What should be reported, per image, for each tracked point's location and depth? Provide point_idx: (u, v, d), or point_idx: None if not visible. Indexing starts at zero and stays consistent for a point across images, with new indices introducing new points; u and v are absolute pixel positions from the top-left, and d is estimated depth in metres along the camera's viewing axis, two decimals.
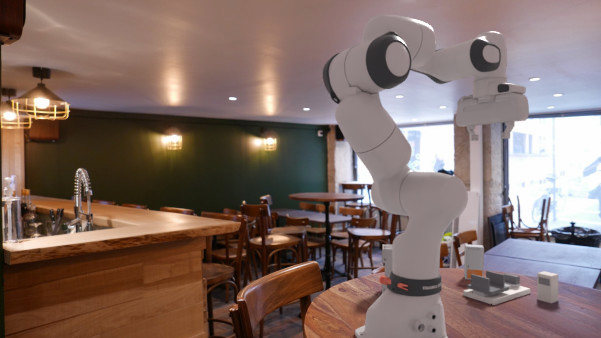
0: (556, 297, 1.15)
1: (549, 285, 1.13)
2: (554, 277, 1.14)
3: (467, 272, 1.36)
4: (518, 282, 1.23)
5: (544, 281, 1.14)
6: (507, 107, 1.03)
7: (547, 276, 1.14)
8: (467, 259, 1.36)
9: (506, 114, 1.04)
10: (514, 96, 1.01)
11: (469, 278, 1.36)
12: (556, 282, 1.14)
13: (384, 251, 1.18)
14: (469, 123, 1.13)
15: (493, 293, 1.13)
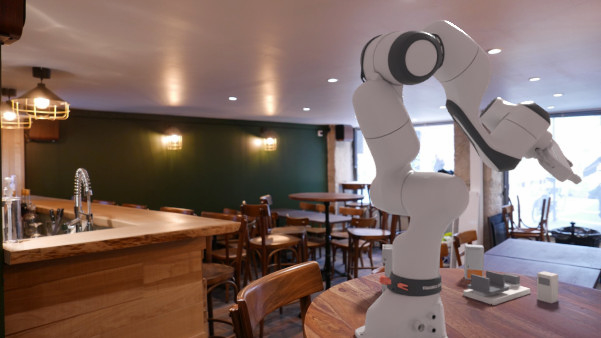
0: (556, 297, 1.15)
1: (549, 285, 1.13)
2: (554, 277, 1.14)
3: (467, 272, 1.36)
4: (518, 282, 1.23)
5: (544, 281, 1.14)
6: None
7: (547, 276, 1.14)
8: (467, 259, 1.36)
9: (556, 146, 1.08)
10: None
11: (469, 278, 1.36)
12: (556, 282, 1.14)
13: (384, 251, 1.18)
14: (569, 165, 0.99)
15: (493, 293, 1.13)
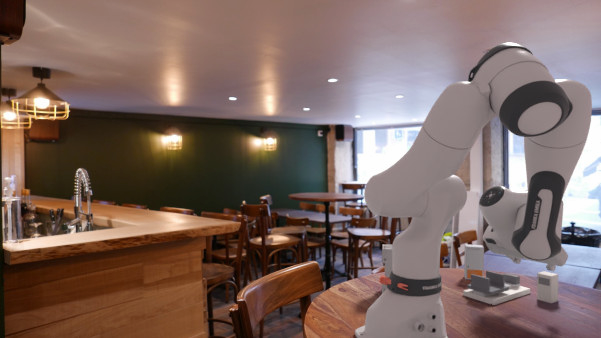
0: (556, 297, 1.15)
1: (549, 285, 1.13)
2: (554, 277, 1.14)
3: (467, 272, 1.36)
4: (518, 282, 1.23)
5: (544, 281, 1.14)
6: None
7: (547, 276, 1.14)
8: (467, 259, 1.36)
9: None
10: None
11: (469, 278, 1.36)
12: (556, 282, 1.14)
13: (384, 251, 1.18)
14: None
15: (493, 293, 1.13)
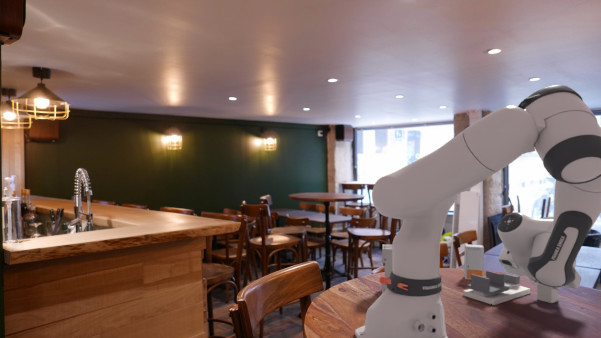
0: (556, 297, 1.15)
1: None
2: None
3: (467, 272, 1.36)
4: (518, 282, 1.23)
5: None
6: None
7: None
8: (467, 259, 1.36)
9: None
10: None
11: (469, 278, 1.36)
12: None
13: (384, 251, 1.18)
14: None
15: (493, 293, 1.13)
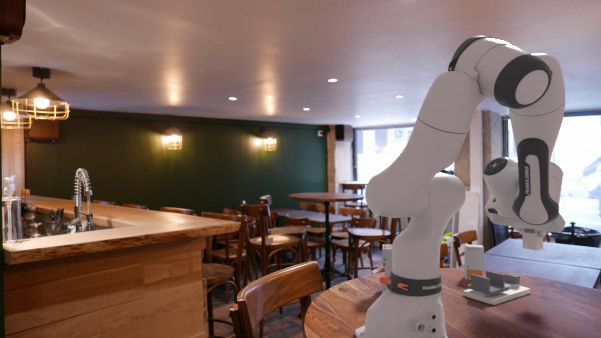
0: (541, 245, 1.16)
1: (534, 232, 1.14)
2: None
3: (467, 272, 1.36)
4: (518, 282, 1.23)
5: (529, 229, 1.15)
6: None
7: None
8: (467, 259, 1.36)
9: None
10: None
11: (469, 278, 1.36)
12: None
13: (384, 251, 1.18)
14: None
15: (493, 293, 1.13)
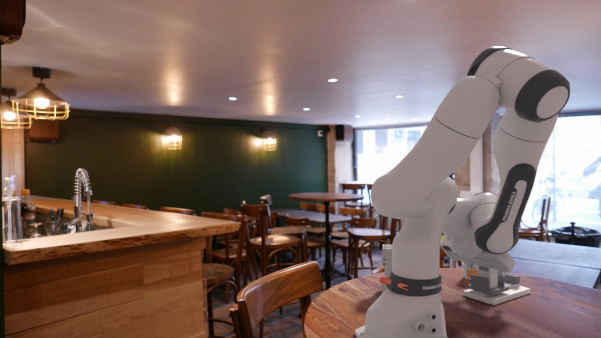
0: (496, 283, 1.17)
1: (488, 271, 1.16)
2: None
3: (467, 272, 1.36)
4: (518, 282, 1.23)
5: (484, 267, 1.17)
6: None
7: None
8: None
9: None
10: None
11: (469, 278, 1.36)
12: None
13: (384, 251, 1.18)
14: None
15: (493, 293, 1.13)
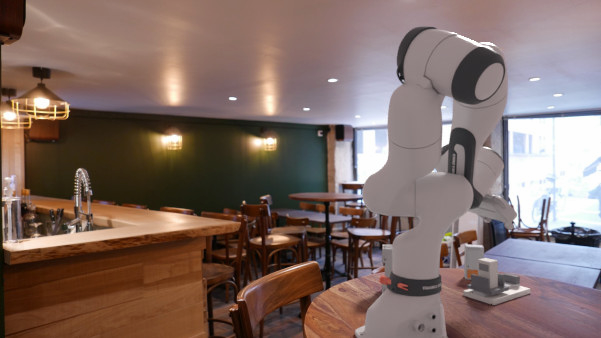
0: (496, 283, 1.17)
1: (488, 271, 1.16)
2: (493, 263, 1.16)
3: (467, 272, 1.36)
4: (518, 282, 1.23)
5: (484, 267, 1.17)
6: None
7: (486, 262, 1.16)
8: (467, 259, 1.36)
9: None
10: None
11: (469, 278, 1.36)
12: (495, 268, 1.17)
13: (384, 251, 1.18)
14: None
15: (493, 293, 1.13)
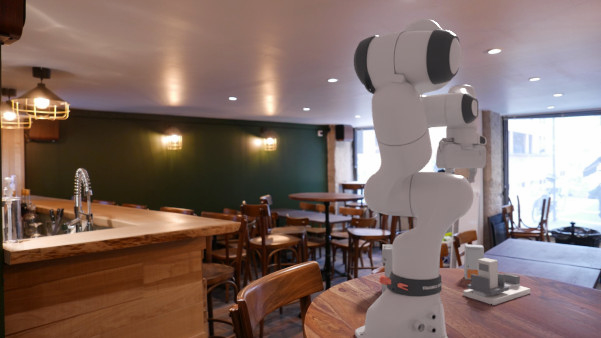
0: (496, 283, 1.17)
1: (488, 271, 1.16)
2: (493, 263, 1.16)
3: (467, 272, 1.36)
4: (518, 282, 1.23)
5: (484, 267, 1.17)
6: (478, 156, 1.21)
7: (486, 262, 1.16)
8: (467, 259, 1.36)
9: (478, 162, 1.20)
10: (485, 149, 1.21)
11: (469, 278, 1.36)
12: (495, 268, 1.17)
13: (384, 251, 1.18)
14: (455, 167, 1.15)
15: (493, 293, 1.13)
